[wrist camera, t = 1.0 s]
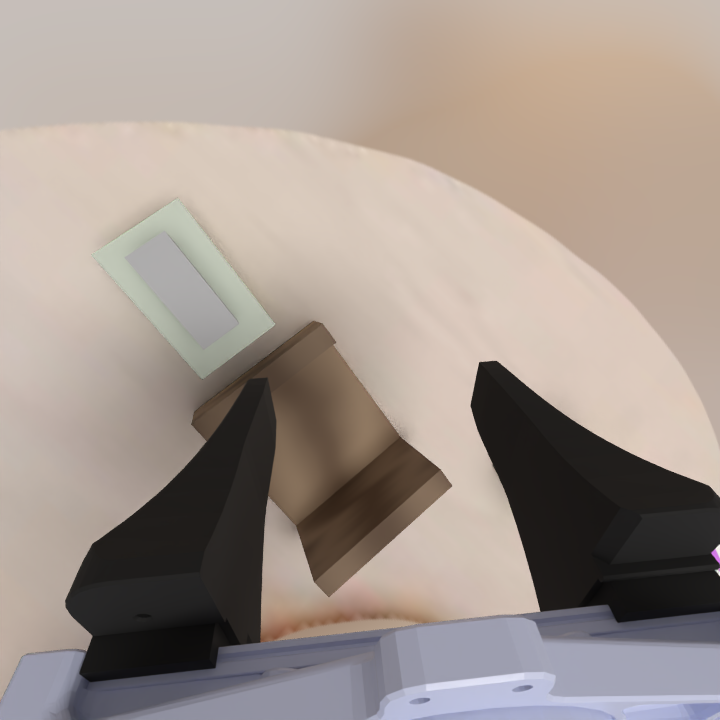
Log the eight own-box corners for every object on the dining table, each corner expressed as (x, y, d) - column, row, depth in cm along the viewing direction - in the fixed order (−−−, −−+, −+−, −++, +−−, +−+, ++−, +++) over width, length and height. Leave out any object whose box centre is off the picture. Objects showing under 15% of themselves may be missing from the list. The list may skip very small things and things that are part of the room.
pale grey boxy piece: (205, 364, 27) (198, 394, 19) (116, 262, 25) (65, 247, 17) (266, 319, 28) (284, 329, 20) (186, 215, 25) (169, 180, 17)
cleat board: (306, 533, 31) (328, 597, 25) (194, 411, 27) (185, 449, 21) (406, 447, 33) (452, 485, 26) (313, 320, 29) (340, 329, 22)
